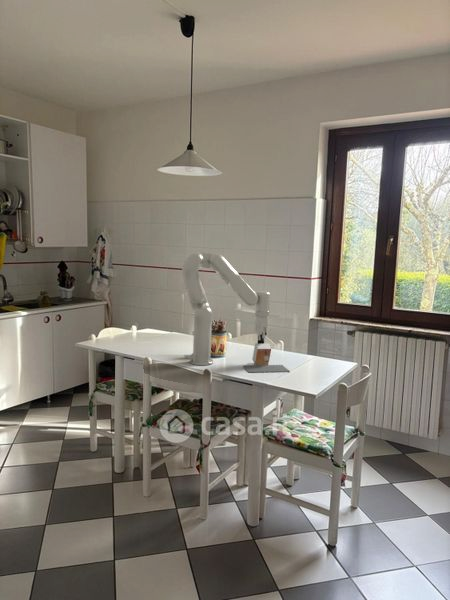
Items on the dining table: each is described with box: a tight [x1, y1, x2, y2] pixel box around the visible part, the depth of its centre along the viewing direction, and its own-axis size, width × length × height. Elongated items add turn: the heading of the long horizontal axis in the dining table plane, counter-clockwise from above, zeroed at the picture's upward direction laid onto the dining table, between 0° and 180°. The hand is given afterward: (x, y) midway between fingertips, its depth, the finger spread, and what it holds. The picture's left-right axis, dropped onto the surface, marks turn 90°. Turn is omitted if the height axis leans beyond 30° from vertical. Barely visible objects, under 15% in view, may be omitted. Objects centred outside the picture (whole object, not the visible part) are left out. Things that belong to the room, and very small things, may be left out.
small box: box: [252, 343, 272, 365], centre depth 243 cm, size 8×6×10 cm
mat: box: [242, 364, 291, 374], centre depth 235 cm, size 22×12×1 cm, turn 102°
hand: (260, 346), depth 246 cm, fingers closed
